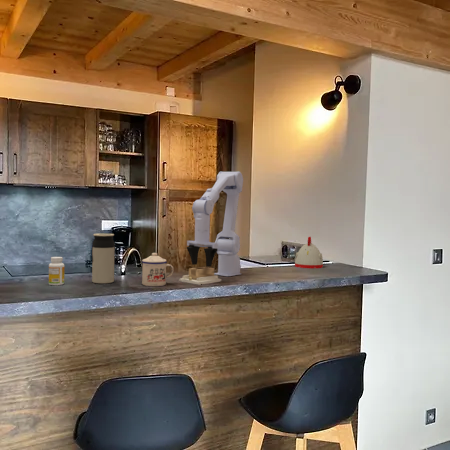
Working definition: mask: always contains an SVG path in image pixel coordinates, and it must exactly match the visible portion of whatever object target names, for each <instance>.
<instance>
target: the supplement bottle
mask: <svg viewBox="0 0 450 450" xmlns="http://www.w3.org/2000/svg"><path fill="white" fill-rule="evenodd" d="M63 260H64V258H63V257H62V256H51V257H50V263H49V264H48V285H49V286H62V285H64V284H65V271H66V270H65V263H63Z"/></svg>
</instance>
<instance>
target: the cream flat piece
mask: <svg viewBox="0 0 450 450" xmlns="http://www.w3.org/2000/svg"><path fill="white" fill-rule="evenodd" d="M178 281H179V282H182V283H188V284H193V285H199V286H200V285H201V284H202V285H209V284H213V283H219V282H220V283H221V282H222V278H219V275H215V274H214V276H207V277H200V278H197V280H192V277H189V274H186V275H182V278H179V279H178Z"/></svg>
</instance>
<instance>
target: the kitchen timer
mask: <svg viewBox="0 0 450 450" xmlns="http://www.w3.org/2000/svg"><path fill="white" fill-rule="evenodd" d="M294 261H295V262H294V267H296V268H301V269H322V267H324V262H323V253H321V252H320V250H319V248H318V247H317V246H316V245H315V244H314V243H312V237H311V236H308V237H307V243H305V244H303V245H302V246H301V248H299V250H298V252H296V253H295V259H294Z"/></svg>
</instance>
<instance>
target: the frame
mask: <svg viewBox="0 0 450 450" xmlns="http://www.w3.org/2000/svg"><path fill="white" fill-rule="evenodd" d="M214 273H215V268H214V267H211V266H210V267H206V266H200V267H192V268H188V275H189V277H192V280H197V278H200V277H207V276H214V275H215V274H214Z"/></svg>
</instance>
